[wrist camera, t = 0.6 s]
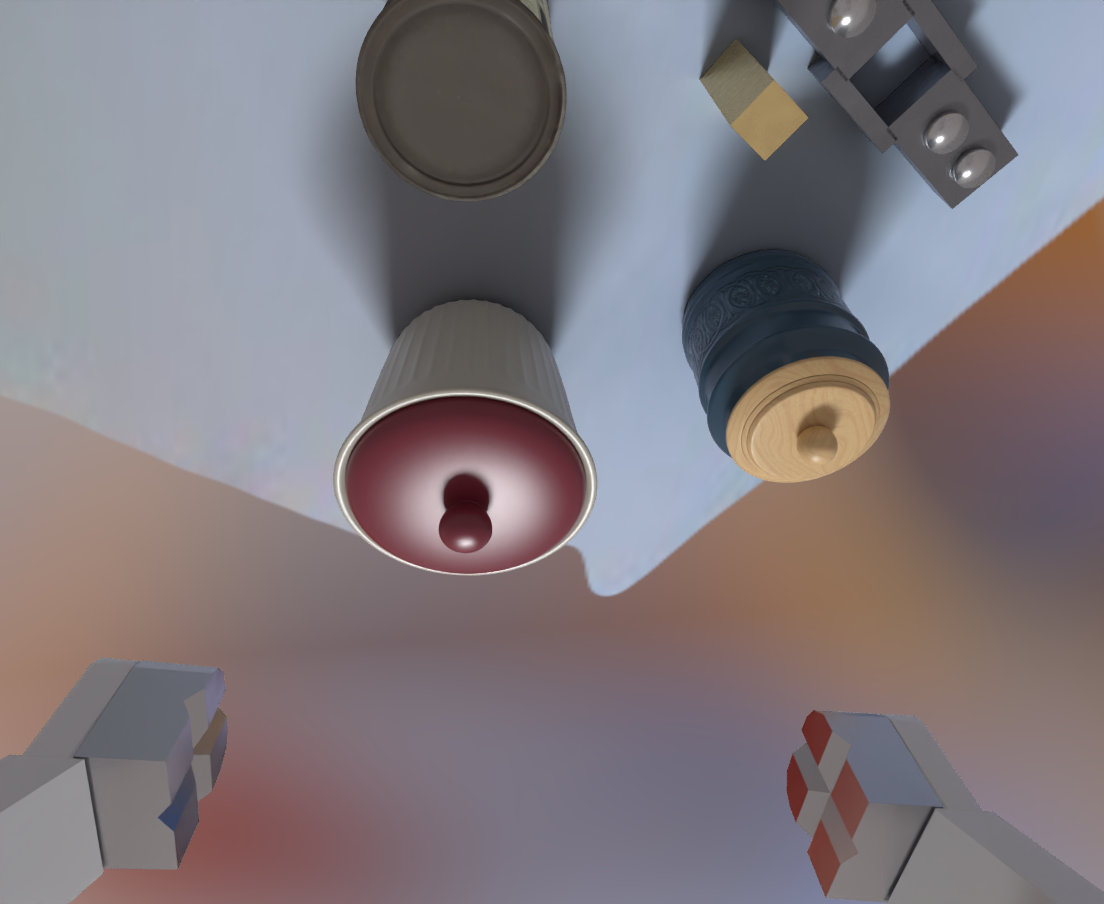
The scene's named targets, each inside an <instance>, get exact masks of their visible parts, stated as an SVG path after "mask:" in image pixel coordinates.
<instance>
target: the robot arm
mask: <svg viewBox="0 0 1104 904" xmlns="http://www.w3.org/2000/svg"><path fill="white" fill-rule="evenodd" d="M225 691H226V690H225V680H224V672H223V671H222V670H221V669H220V668H215V667H204V666H194V665H183V664H173V663H162V662H152V661H141V662H140V661H131V660H121V659H112V658H100V659H99V660H97V661H95V662H94V663H92V664H91V665H90V666H89V667H88V668H87V670H86V671H85V673H84V674H83V675H82V676H81V678H80V679H79V680H78V682H77V683H76V684H75V686H74V687H73V688H72V690H71V691H70V692H69V694H68V695H67V696H66V698H65V699H64V700H63V702H62V703H61V704H60V706H59V707H58V708H57V710H56V711H55V712H54V714H53V715H52V716H51V718H50V719H49V720H48V722H47V723H46V725H45V726H44V727H43V728H42V730H41V731H40V732H39V734H38V735H37V736H36V738H35V739H34V740H33V742H32V743H31V744H30V746H29V747H28V748H27V750H26V751H25V752H24V754H23V755H8V756H6V757H4V758H3V759H1V760H0V904H69V903H70V902H71V901H72V900H73V899H74V898H75V897H77V896H78V895H79V894H80V893H81V892H82V891H83V890H85V889H86V888H87V887H88V886H89V885H90V884H91V883H93V882H94V881H95V880H96V879H97V878H98V877H99V876H100V875H102V874H103V868H117V869H119V868H120V869H178V868H179V866H180V863H181V861H182V859H183V856H184V854H185V852H186V849H187V847H188V845H189V843H190V841H191V838H192V836H193V833H194V831H195V829H196V827H197V825H198V822H199V815H198V801H199V800H200V799H202V798H203V797H204V796H206V795H207V794H208V793H210V792H211V791H212V790H213V788H214V785H215V783H216V780H217V777H218V775H219V773H220V770H221V766H222V762H223V758H224V754H225V750H226V744H227V733H228V726H227V716H226V715H225V714H224V713H223V712H222V710H221V709H220V708H219V707H218V706H219V704H220V702H221V699H222V697H223V695H224V693H225ZM802 733H803V735H804V737H805V739H806V742H807V743H805V744H804V745H803V746H801V747H800V748H799V749H798V750H796V751H795V752H794V753H793V754H792V757H791V760H790V763H789V766H788V769H787V795H788V800H789V805H790V808H791V811H792V814H793V816H794V819H795V822H796V823H797V824H798V825H799V826H800V827H801V828H802V829H803V830H804V831H806V832H807V833H808V834H809V835H810V836H811V837H812V840H811V843H810V846H809V849H808V851H807V852H808V855H809V857H810V860H811V862H812V865H813V867H814V869H815V872H816V875H817V877H818V880H819V882H820V885H821V887H822V890H823V892H824V894H825V897H826V898H835V899H847V900H860V901H875V902H887V904H1104V892H1103V891H1102V890H1100V889H1099V888H1098V887H1096V886H1095V885H1094V884H1092V883H1090V882H1089V881H1088V880H1086V879H1085V878H1084V877H1083V876H1081V875H1079V874H1078V873H1077V872H1076V871H1074V870H1073V869H1072V868H1070V867H1069V866H1067V865H1066V864H1065V863H1063V862H1062V861H1060V860H1059V859H1057V858H1056V857H1055V856H1054V855H1052V854H1051V853H1049V852H1048V851H1047V850H1045V849H1044V848H1042V847H1041V846H1040V845H1038V844H1037V843H1036V842H1034V841H1033V840H1031V839H1030V838H1029V837H1027V836H1026V835H1025V834H1023V833H1022V832H1020V831H1019V830H1018V829H1016V828H1015V827H1014V826H1012V825H1011V824H1009V823H1008V822H1007V821H1005V820H1004V819H1002V818H1001V817H1000V816H998V815H997V814H996V813H994V812H987V811H982V809H981V808H980V806H979V805H978V803H977V802H976V800H975V799H974V797H973V796H972V794H971V793H970V791H969V790H968V788H967V787H966V785H965V784H964V783H963V781H962V779H961V778H960V776H959V775H958V773H957V772H956V770H955V769H954V768H953V766H952V764H951V763H950V761H949V760H948V758H947V757H946V755H945V754H944V752H943V751H942V749H941V748H940V747H939V745H938V743H937V742H936V740H935V739H934V737H933V736H932V735H931V733H930V731H929V730H928V728H927V727H926V726H925V724H924V723H923V722H922V721H921V720H920V719H918V718H917V717H915V716H909V715H892V714H880V715H877V714H868V713H853V712H837V711H821V710H813V711H812V712H811V713H810V714H809V715H808V716H807V717H806V720H805V723H804V725H803V727H802Z"/></svg>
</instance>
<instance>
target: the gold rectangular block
mask: <svg viewBox="0 0 1104 904" xmlns="http://www.w3.org/2000/svg"><path fill="white" fill-rule="evenodd" d="M699 80H700V81H701V83H702V84H703V86H704V87H705V88H706V90H707V91H708V93H709V94H710V96H711V97H712V99H713V100H714V102H715V103H716V105H717V106H718V108H719V109H720V111H721V112H722V114H723V115H724V117H725V118H726V120H727V121H728V123H729V124H730V126H731V127H732V128H733V129H734V130H735V131H736V132H737V133H738V134H739V135H740V136H741V137H742V138H743V139H744V140H745V141H746V142H747V143H748V144H749V145H750V146H751V147H752V148H753V149H754V150H755V151H756V152H757V153H758V154H759V155H760V156H761V157H762V158H763V159H764V160H766V159H767V158H768V157H769V156H770V155H771V154H772V153H773V152H774V151H775V150H776V149H777V148H779V147H780V146H781V145H782V144H783V143H784V142H785V141H786V140H787V139H788V138H789V137H790V136H791V135H792V134H793V133H794V132H795V131H796V130H797V129H798V128H799V127H800V126H801V125H802V124H803V123H804V122H805V121H806V120H807V119H808V117H807V115H806V114H805V113H804V112H803V111H802V110H801V109H800V108H799V107H798V105H797V104H796V103H795V102H794V101H793V100H792V99H791V98H790V97H789V95H788V94H787V93H786V92H785V91H784V90H783V89H782V88H781V87H780V86H779V84H778V83H777V82H776V81H775V80H774V79H773V78H772V77H771V76H770V75H769V73H768V72H767V71H766V70H765V69H764V68H763V67H762V66H761V65H760V64H759V63H758V61H757V60H756V59H755V58H754V57H753V56H752V55H751V54H750V53H749V52H748V51H747V50H746V48H745V47H744V46H743V45H742V44H741V43H740V42H739V41H738V40H737V39H735V40H734V41H733V42H732V44H731V45H730V46H729V47H728V48H727V49H726V50H725V51H724V52H723V54H722V55H721V56H720V57H719V58H718V59H717V60H716V61H715V63H714V64H713V65H712V66H711V67H710V68H709V69H708V70H707V71H706V73H705V74H704V75H703V76H702V77H701V78H700V79H699Z"/></svg>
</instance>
